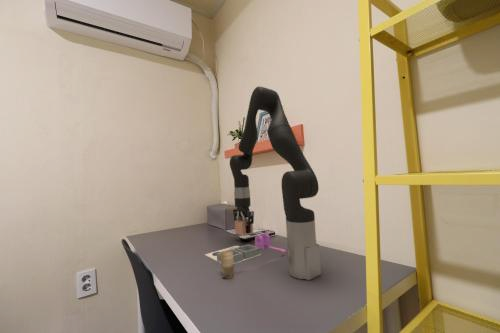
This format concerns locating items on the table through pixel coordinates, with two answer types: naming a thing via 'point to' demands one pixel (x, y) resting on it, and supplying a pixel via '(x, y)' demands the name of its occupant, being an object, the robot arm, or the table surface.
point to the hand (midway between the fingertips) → (244, 231)
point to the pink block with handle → (265, 242)
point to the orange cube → (242, 227)
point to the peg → (227, 264)
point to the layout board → (237, 253)
